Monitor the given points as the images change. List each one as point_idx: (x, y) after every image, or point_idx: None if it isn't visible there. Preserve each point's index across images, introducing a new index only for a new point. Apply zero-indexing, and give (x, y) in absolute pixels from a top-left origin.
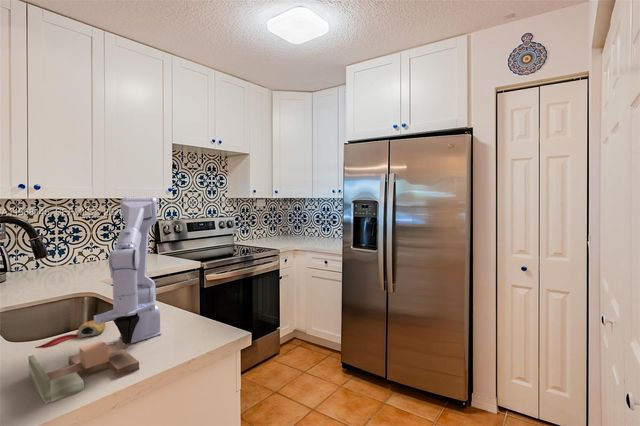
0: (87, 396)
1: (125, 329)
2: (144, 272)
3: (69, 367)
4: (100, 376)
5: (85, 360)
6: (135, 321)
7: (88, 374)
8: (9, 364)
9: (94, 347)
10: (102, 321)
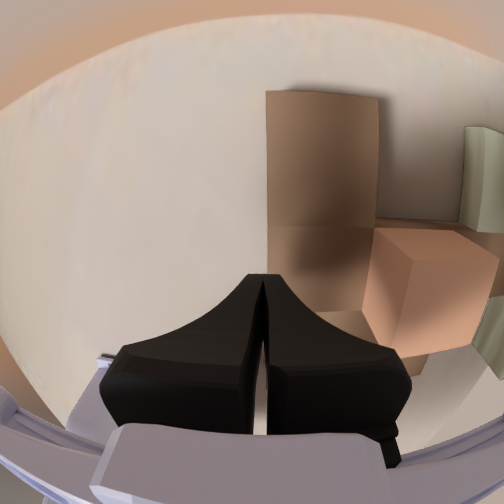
0: (462, 76)
1: (300, 326)
2: None
3: None
4: (405, 176)
5: (474, 244)
6: (174, 350)
7: (431, 222)
8: (449, 414)
9: (454, 296)
10: (496, 428)
